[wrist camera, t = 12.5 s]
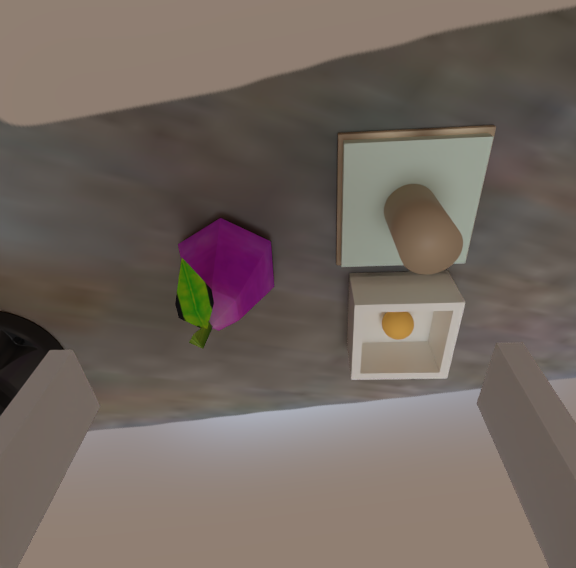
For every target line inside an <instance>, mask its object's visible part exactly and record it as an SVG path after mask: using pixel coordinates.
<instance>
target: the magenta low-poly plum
mask: <svg viewBox="0 0 576 568" xmlns="http://www.w3.org/2000/svg"><path fill="white" fill-rule="evenodd" d="M178 247H179V252H180V256H181V266H180V273H179V281H178V288H177V296H176V303H175V304H176V308H177V312H178V316H179V318H180V319H182V320H184V321H187V322H189V323H191V324H193V325H195V326H197V327H199V328H201V329H200V330H199V331H197V332H196V333H195V334H193V336H192V338H191V340H190V342H189V343H191V344H194V345H196V346H198V347H200V348H204V346H205V343H206V341H207V339H208V336H209V334H210V332H211V329H212V328H213V329H216V330H218V331H219V330H221V329H223V328H225V327H227V326H229V325H231V324H233V323H235V322H237V321H238V320H240V319H241V318H242V317H243V316H244V315H245V314H246V313H247V312H248V311H249V310H250V309H251V308H252V307H253V306H254V305H255V304H257V303H258V302H259V301H260V300H261V299H262V298H263V297H264V296H265V295H266V294H267V293H268V292H269V291H270V290H271V289H272V288H273V287H274V277H273V263H272V250H271V241H269V240H267V239H265V238H262V237H260V236H258V235H256V234H254V233H252V232H250V231H248V230H245V229H243V228H241V227H239V226H237V225H235V224H233V223H230V222H228V221H226V220H224V219H222V218H219V219H218V220H216V221H215V222H213V223H211V224H210V225H208V226H207V227H205V228H203V229H202V230H200V231H199V232H197V233H195V234H194V235H192V236H191V237H189V238H187V239H186V240H184V241H182V242H181V243H179V244H178Z"/></svg>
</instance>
